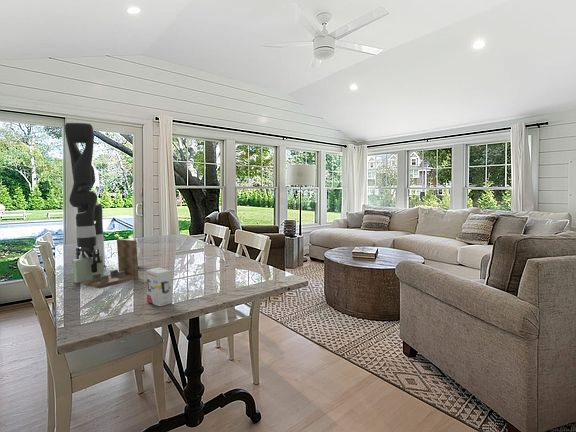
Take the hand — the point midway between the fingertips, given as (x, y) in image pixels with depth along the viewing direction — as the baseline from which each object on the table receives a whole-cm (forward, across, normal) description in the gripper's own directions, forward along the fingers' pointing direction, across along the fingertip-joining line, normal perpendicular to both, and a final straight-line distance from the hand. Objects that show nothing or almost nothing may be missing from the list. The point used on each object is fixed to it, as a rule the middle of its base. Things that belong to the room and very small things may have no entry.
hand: (88, 271), depth 154 cm
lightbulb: (+4, +4, -26) cm, 27 cm away
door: (+4, 0, 0) cm, 4 cm away
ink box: (+4, -55, +7) cm, 56 cm away
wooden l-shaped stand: (+4, -12, -3) cm, 13 cm away
